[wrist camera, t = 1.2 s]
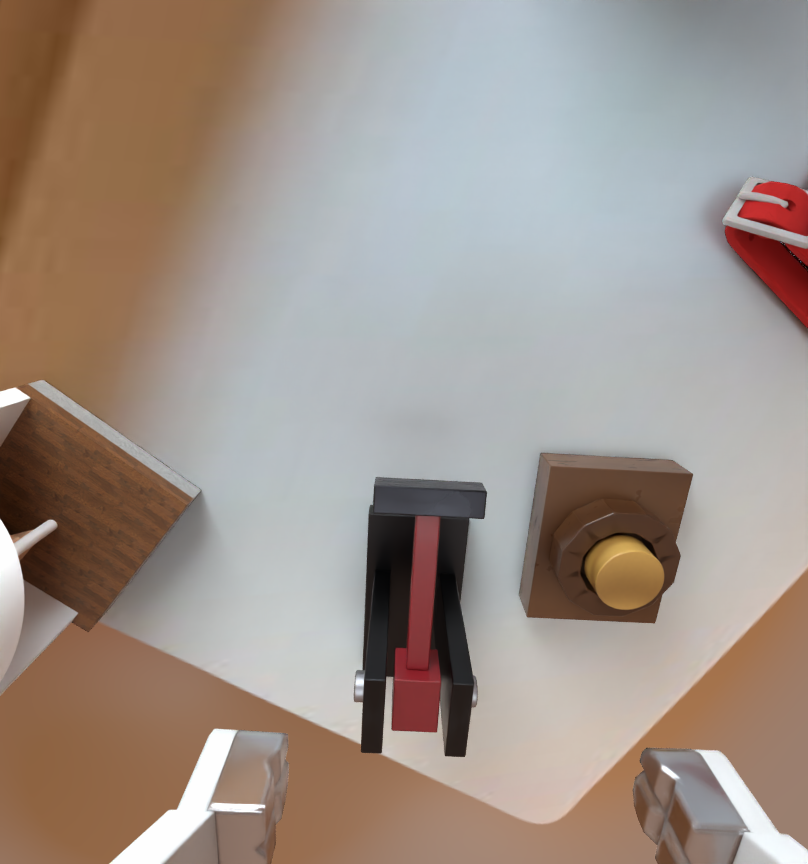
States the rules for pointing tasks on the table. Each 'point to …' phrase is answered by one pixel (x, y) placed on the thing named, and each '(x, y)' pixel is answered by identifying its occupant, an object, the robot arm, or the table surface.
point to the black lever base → (390, 626)
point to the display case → (71, 519)
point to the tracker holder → (773, 238)
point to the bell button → (623, 572)
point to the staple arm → (423, 588)
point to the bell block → (598, 529)
